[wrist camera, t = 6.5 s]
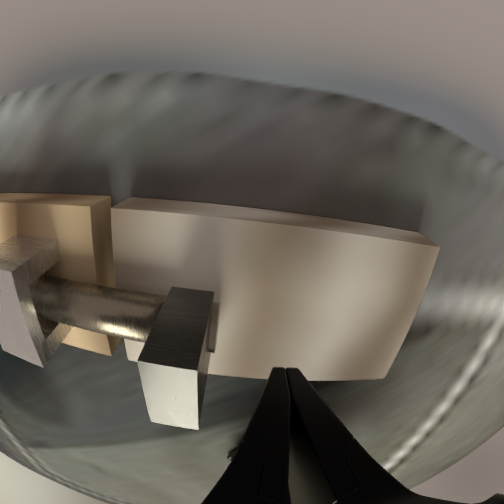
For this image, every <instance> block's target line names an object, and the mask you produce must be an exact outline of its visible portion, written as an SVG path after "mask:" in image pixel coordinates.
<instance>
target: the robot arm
mask: <svg viewBox="0 0 504 504" xmlns="http://www.w3.org/2000/svg"><path fill="white" fill-rule="evenodd" d="M353 438H354V437H353V435H352V434H351V433H350V432H349V431H348V429H347V428H346V427H345V426H344V425H343V423H342V422H341V421H340V420H339V418H338V417H337V416H336V415H335V414H334V412H333V411H332V410H331V409H330V407H329V406H328V405H327V404H326V402H325V401H324V400H323V399H322V397H321V396H320V395H319V394H318V392H317V391H316V390H315V389H314V387H313V386H312V385H311V384H310V382H309V381H308V380H307V379H306V377H305V376H304V375H303V374H302V372H301V371H300V370H299V369H298V368H293V367H287V368H284V367H273V368H272V370H271V372H270V375H269V377H268V380H267V382H266V385H265V387H264V390H263V392H262V394H261V397H260V399H259V402H258V404H257V406H256V409H255V411H254V413H253V416H252V418H251V420H250V423H249V425H248V427H247V429H246V432H245V434H244V436H243V438H242V442H241V443H240V445H239V447H238V449H236V450H235V451H233V452H232V453H230V454H229V455H228V456H227V460H228V461H230V462H231V463H230V464H229V466H228V467H227V469H226V471H225V472H224V474H223V475H222V477H221V478H220V479H219V481H218V482H217V483H216V485H215V486H214V487H213V489H212V490H211V491H210V493H209V494H208V495H207V497H206V498H205V499H204V501H203V502H202V503H201V504H467V503H459V502H453V501H447V500H441V499H436V498H431V497H426V496H422V495H419V494H416V493H414V492H412V491H410V490H409V489H407V488H406V487H405V486H403V485H402V484H401V483H400V482H399V481H398V480H396V479H395V478H394V477H393V476H392V475H391V474H390V473H388V472H387V471H386V470H385V469H384V468H383V467H382V466H381V465H379V464H378V463H377V462H376V461H375V460H374V459H373V458H372V457H371V456H370V455H369V454H368V453H367V452H366V450H365V449H364V448H363V447H362V446H361V445H360V444H359V442H358V441H357V440H356V439H355V438H354V439H353ZM476 504H504V495H503V494H499V493H497V494H495V495H493V496H492V497H490V498H489V499H487V500H486V501H484V502H481V503H476Z"/></svg>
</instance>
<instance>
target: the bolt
mask: <svg viewBox="0 0 504 504" xmlns="http://www.w3.org/2000/svg"><path fill="white" fill-rule="evenodd" d="M29 289H30V293H31V297H32V301H33V304H34V308H35V311H36V314H37V316H38V317H42V318H45V319H48V320H51V321H55V322H58V323H62V324H66V325H69V326H73V327H77V328H81V329H84V330H88V331H92V332H97V333H101V334H105V335H110V336H114V337H119V338H123V339H128V340H133V341H138V342H144V343H145V344H144V346H143V349H142V351H141V353H140V355H139V358H138V360H137V362H138V367H139V372H140V377H141V382H142V386H143V391H144V395H145V400H146V404H147V408H148V412H149V416H150V419H151V422H156V423H161V424H166V425H172V426H177V427H183V428H190V429H196V430H199V424H200V417H201V411H202V405H203V398H204V392H205V386H206V380H207V374H208V368H209V362H210V356H211V353H215V350H216V343H217V335H218V326H219V315H220V302H214V292H213V291H204V290H196V289H188V288H180V287H171V289H170V291H169V293H168V295H167V296H165V295H158V294H151V293H145V292H138V291H132V290H125V289H119V288H113V287H108V286H102V285H96V284H91V283H85V282H80V281H75V280H69V279H64V278H59V277H54V276H50V275H45V274H42V275H41V276H40V277H39V278H37V279H36V280H35V281H34V282H33V283H32V284H30V285H29Z"/></svg>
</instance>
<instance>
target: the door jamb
mask: <svg viewBox="0 0 504 504" xmlns="http://www.w3.org/2000/svg"><path fill="white" fill-rule="evenodd" d="M16 234H22V235H29V236H37V237H45V238H53V239H58V244H59V251H60V258H61V260H59V261H58V262H57V263H56V264H54V265H53V266H52V267H51V268H49V269H48V270H47V271H46V272H45V273H43V274H45V275H50V276H54V277H59V278H64V279H69V280H75V281H80V282H85V283H91V284H96V285H102V286H108V287H113V288H119V289H125V290H132V291H138V292H145V293H151V294H158V295H165V296H167V295H168V293H169V291H170V289H171V287H180V288H188V289H196V290H204V291H213V292H214V302H220V315H219V326H218V335H217V343H216V350H215V353H211V356H210V362H209V368H208V374H215V375H224V376H234V377H245V378H258V379H268V377H269V375H270V372H271V370H272V368H273V367H284V368H287V367H293V368H298V369H299V370H300V371H301V372H302V374H303V375H304V376H305V377H306V379H307V380H308V381H341V380H367V379H383V378H385V376H386V374H387V372H388V371H389V369H390V367H391V365H392V363H393V361H394V359H395V357H396V355H397V353H398V352H399V350H400V347H401V345H402V343H403V341H404V339H405V337H406V335H407V333H408V331H409V329H410V326H411V324H412V322H413V320H414V317H415V315H416V313H417V310H418V308H419V306H420V303H421V301H422V298H423V296H424V293H425V290H426V288H427V285H428V283H429V280H430V277H431V274H432V271H433V269H434V266H435V263H436V260H437V257H438V253H439V250H440V247H439V246H438V245H436V244H435V243H434V242H432V241H431V240H429V239H428V238H426V237H425V236H424V235H422V234H421V233H419V232H413V231H408V230H402V229H396V228H390V227H385V226H379V225H373V224H366V223H360V222H354V221H347V220H341V219H334V218H327V217H320V216H313V215H305V214H298V213H290V212H282V211H274V210H266V209H258V208H249V207H240V206H230V205H221V204H210V203H200V202H189V201H177V200H165V199H152V198H137V197H129V198H127V199H126V200H124V201H122V202H120V203H119V204H117V205H115V206H113V207H112V208H111V196H103V195H81V194H50V193H0V244H1V243H2V242H4V241H6V240H7V239H9V238H11V237H12V236H14V235H16ZM120 340H121V338H119V337H114V336H110V335H105V334H101V333H97V332H92V331H88V330H84V329H81V328H77V327H73V328H72V330H71V331H70V332H69V334H68V335H67V336H66V338H65V339H64V340H63V342H62V343H65V344H69V345H72V346H75V347H79V348H82V349H86V350H90V351H93V352H97V353H101V354H105V355H109V356H112V355H113V353H114V351H115V349H116V347H117V345H118V344H119V342H120ZM124 341H125V346H126V351H127V356H128V360H131V361H135V362H137V360H138V358H139V355H140V353H141V351H142V349H143V346H144V344H145V343H144V342H138V341H133V340H128V339H124Z"/></svg>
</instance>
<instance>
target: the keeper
mask: <svg viewBox="0 0 504 504" xmlns="http://www.w3.org/2000/svg"><path fill="white" fill-rule="evenodd" d="M59 260H61V258H60V251H59V244H58V239H53V238H45V237H37V236H29V235H22V234H16V235H14V236H12V237H11V238H9V239H7V240H6V241H4V242H2V243H1V244H0V344H1V346H2V348H3V350H4V351H6V352H9V353H11V354H13V355H15V356H17V357H19V358H22V359H24V360H26V361H29V362H31V363H33V364H36V365H38V366H41V367H43V368H44V366H45V365H46V364H47V362H48V361H49V359H50V358H51V357H52V355H53V354H54V352H55V351H56V350H57V348H58V347H59V346H60V344H61V343H62V342H63V340H64V339H65V338H66V336H67V335H68V334H69V332H70V331H71V330H72V328H73V326H69V325H66V324H62V323H58V322H55V321H51V320H48V319H45V318H42V317H38V316H37V314H36V311H35V308H34V304H33V301H32V297H31V293H30V289H29V285H30V284H32V283H33V282H34V281H35V280H36V279H37V278H39V277H40V276H41V275H42V274H43V273H45V272H46V271H47V270H48V269H49V268H51V267H52V266H53V265H54V264H56V263H57V262H58V261H59Z"/></svg>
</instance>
